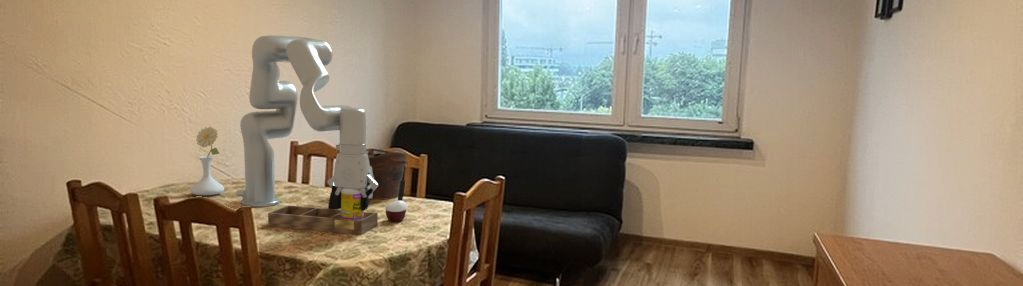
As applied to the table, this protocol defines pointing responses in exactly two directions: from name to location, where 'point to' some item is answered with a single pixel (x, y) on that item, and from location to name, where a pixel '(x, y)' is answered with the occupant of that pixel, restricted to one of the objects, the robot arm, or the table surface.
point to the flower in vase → (207, 165)
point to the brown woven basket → (386, 171)
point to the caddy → (320, 220)
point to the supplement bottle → (351, 204)
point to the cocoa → (397, 206)
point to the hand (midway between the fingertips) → (352, 208)
